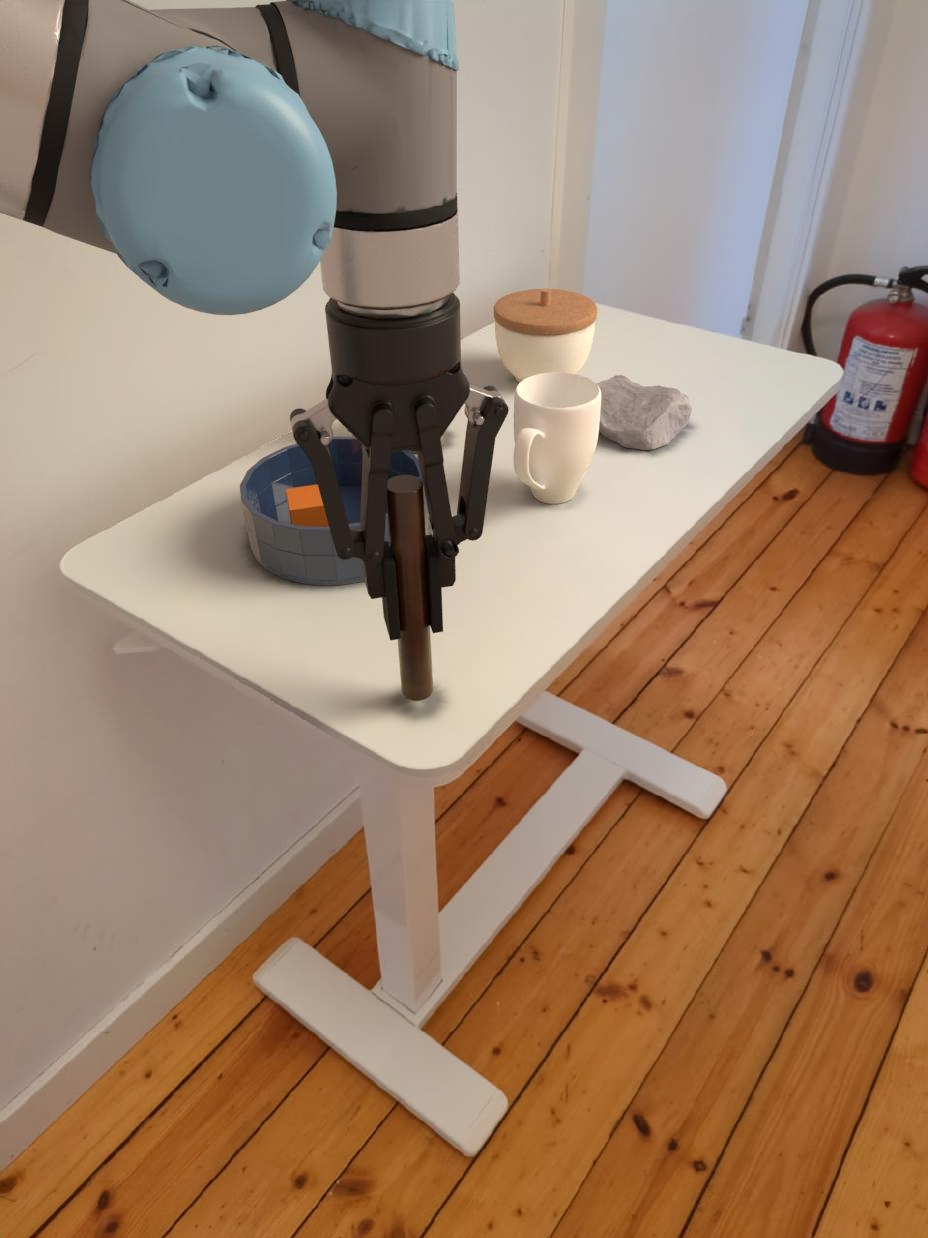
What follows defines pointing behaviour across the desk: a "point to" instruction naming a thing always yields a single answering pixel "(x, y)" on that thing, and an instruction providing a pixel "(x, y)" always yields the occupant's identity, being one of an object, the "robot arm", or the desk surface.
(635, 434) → the stone block
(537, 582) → the desk surface
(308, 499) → the block
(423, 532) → the stick
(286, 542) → the stir bowl
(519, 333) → the lidded bowl
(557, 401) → the mug
